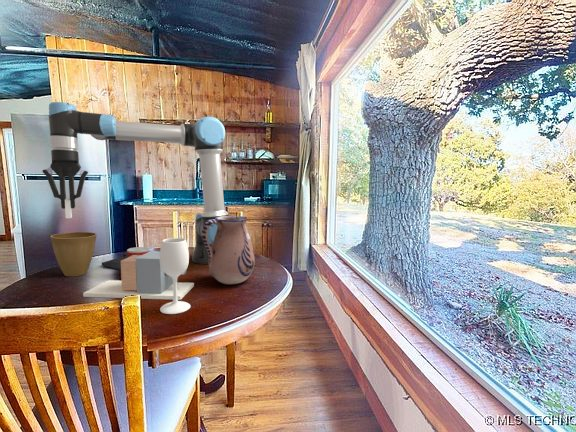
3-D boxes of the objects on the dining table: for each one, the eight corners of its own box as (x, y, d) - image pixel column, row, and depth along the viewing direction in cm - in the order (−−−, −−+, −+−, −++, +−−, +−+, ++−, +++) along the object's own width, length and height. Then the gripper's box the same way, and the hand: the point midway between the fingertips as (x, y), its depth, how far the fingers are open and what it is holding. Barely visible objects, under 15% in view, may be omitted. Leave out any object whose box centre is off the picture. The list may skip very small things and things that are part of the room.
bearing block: (193, 286, 110) (193, 251, 108) (180, 299, 97) (179, 260, 96) (107, 283, 110) (106, 248, 109) (83, 296, 98) (81, 257, 96)
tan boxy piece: (189, 283, 107) (188, 256, 106) (180, 291, 99) (180, 262, 98) (134, 282, 108) (133, 254, 106) (121, 290, 100) (120, 260, 99)
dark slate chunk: (95, 268, 130) (94, 257, 130) (135, 256, 151) (135, 247, 151) (122, 272, 126) (122, 261, 125) (160, 259, 146) (159, 250, 146)
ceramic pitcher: (263, 279, 119) (264, 217, 116) (224, 295, 101) (224, 222, 99) (231, 271, 129) (232, 213, 126) (191, 284, 111) (190, 218, 108)
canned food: (141, 279, 115) (140, 251, 114) (123, 278, 117) (122, 250, 116) (153, 273, 123) (153, 247, 121) (136, 272, 124) (135, 246, 123)
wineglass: (164, 317, 85) (162, 244, 82) (156, 306, 92) (155, 239, 89) (194, 310, 90) (193, 241, 87) (185, 300, 97) (184, 236, 94)
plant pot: (65, 282, 110) (62, 239, 109) (45, 275, 118) (42, 235, 116) (106, 272, 123) (104, 234, 122) (86, 266, 131) (84, 230, 129)
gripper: (88, 152, 109) (91, 216, 112) (43, 149, 103) (48, 217, 106) (86, 150, 103) (90, 218, 106) (38, 147, 97) (43, 219, 99)
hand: (69, 217), depth 106 cm, fingers closed
